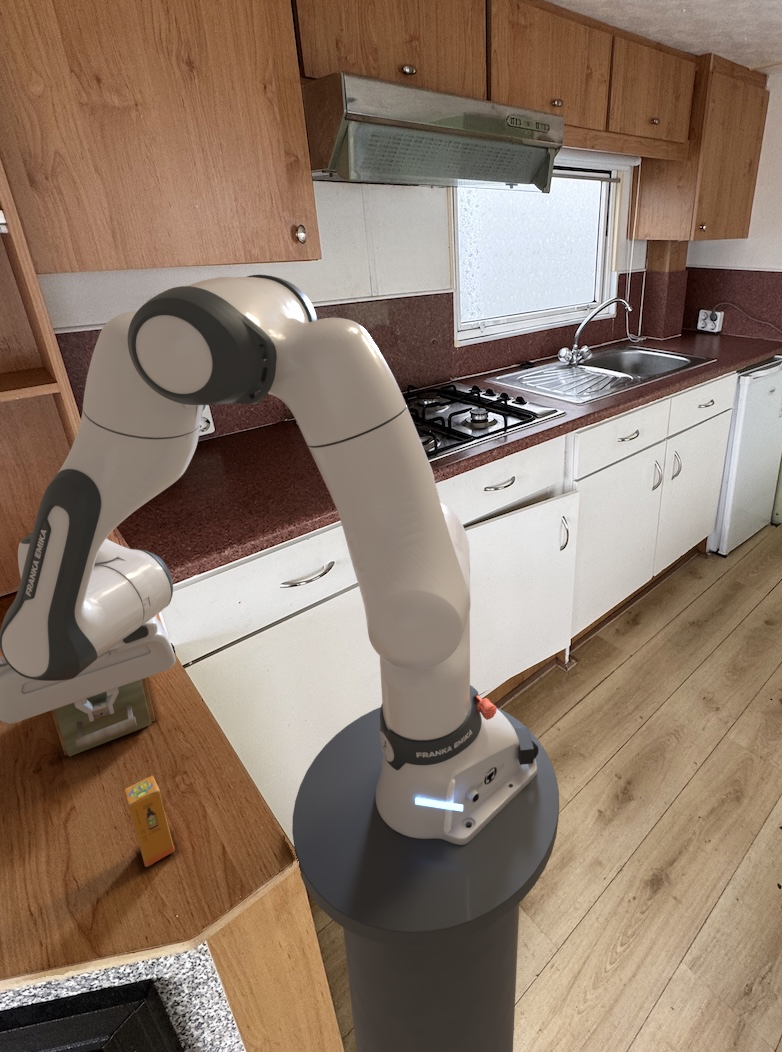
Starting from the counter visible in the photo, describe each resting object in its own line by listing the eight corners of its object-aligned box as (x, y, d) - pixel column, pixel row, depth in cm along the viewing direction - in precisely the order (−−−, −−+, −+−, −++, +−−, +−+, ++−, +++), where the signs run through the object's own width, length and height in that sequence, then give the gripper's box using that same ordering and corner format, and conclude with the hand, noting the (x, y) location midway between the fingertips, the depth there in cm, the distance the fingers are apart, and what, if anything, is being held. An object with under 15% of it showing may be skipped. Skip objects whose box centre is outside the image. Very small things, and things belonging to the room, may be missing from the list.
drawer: (156, 745, 85) (144, 697, 82) (69, 781, 79) (54, 730, 76) (140, 675, 99) (130, 632, 96) (66, 700, 93) (52, 655, 90)
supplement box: (169, 832, 73) (155, 772, 70) (175, 852, 71) (161, 791, 68) (139, 848, 71) (123, 787, 68) (144, 869, 69) (128, 807, 66)
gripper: (-23, 677, 70) (7, 765, 74) (168, 620, 81) (184, 698, 86) (-19, 650, 74) (9, 733, 79) (161, 599, 86) (177, 674, 91)
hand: (102, 715), depth 83 cm, fingers closed
